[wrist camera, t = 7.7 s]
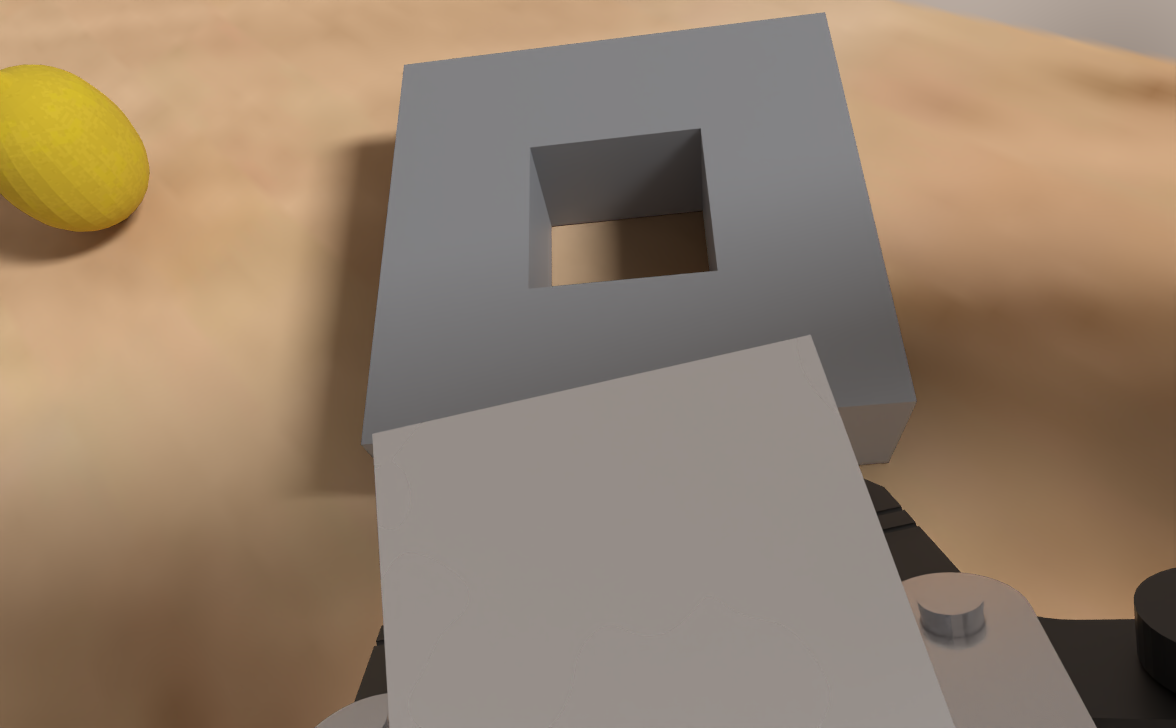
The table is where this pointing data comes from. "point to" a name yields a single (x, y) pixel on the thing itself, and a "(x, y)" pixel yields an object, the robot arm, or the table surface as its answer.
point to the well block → (629, 190)
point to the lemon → (67, 151)
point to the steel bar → (646, 560)
